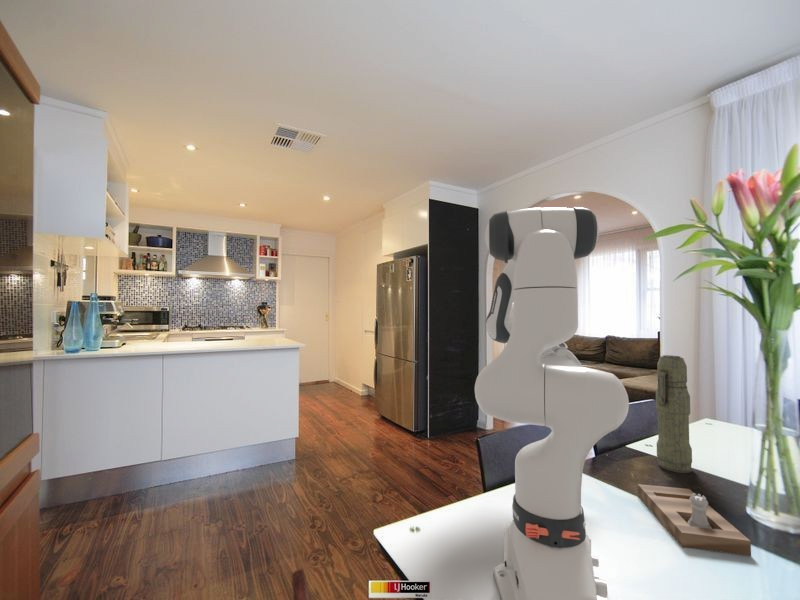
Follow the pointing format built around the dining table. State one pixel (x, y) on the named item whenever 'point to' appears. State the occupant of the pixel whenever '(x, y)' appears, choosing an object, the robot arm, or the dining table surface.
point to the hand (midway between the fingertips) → (568, 388)
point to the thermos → (673, 415)
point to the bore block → (677, 511)
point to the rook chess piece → (698, 512)
